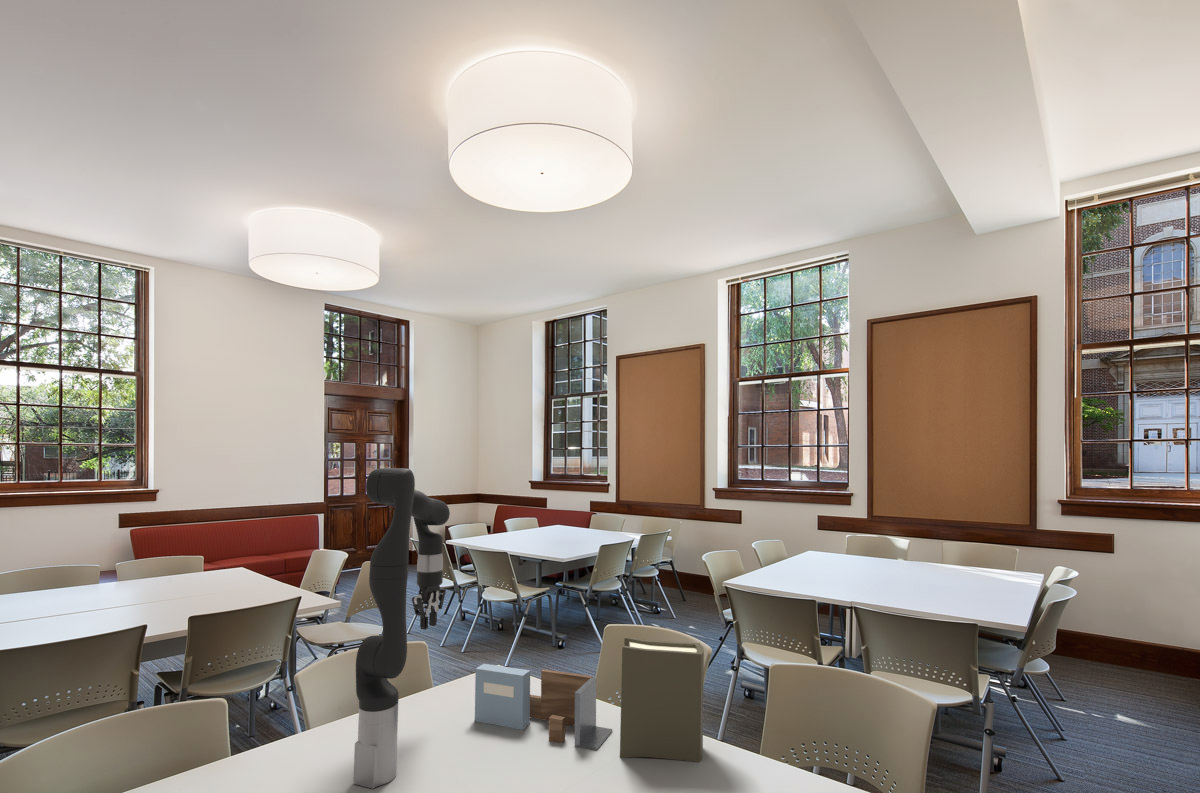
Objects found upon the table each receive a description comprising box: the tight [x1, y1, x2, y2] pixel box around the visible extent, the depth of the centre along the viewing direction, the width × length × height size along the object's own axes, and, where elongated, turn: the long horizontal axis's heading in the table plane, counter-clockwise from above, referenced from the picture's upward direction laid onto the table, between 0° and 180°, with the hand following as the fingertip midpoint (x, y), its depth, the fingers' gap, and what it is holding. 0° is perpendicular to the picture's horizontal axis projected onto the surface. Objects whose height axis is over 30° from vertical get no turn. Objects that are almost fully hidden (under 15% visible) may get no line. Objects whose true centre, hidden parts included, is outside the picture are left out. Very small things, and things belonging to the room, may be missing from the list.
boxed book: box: [474, 663, 531, 731], centre depth 180 cm, size 5×16×15 cm, turn 69°
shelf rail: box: [530, 668, 594, 744], centre depth 177 cm, size 12×29×14 cm, turn 69°
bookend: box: [574, 677, 613, 751], centre depth 169 cm, size 12×6×14 cm, turn 159°
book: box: [619, 636, 705, 763], centre depth 163 cm, size 22×9×28 cm, turn 84°
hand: (428, 627), depth 182 cm, fingers open, 3 cm apart
